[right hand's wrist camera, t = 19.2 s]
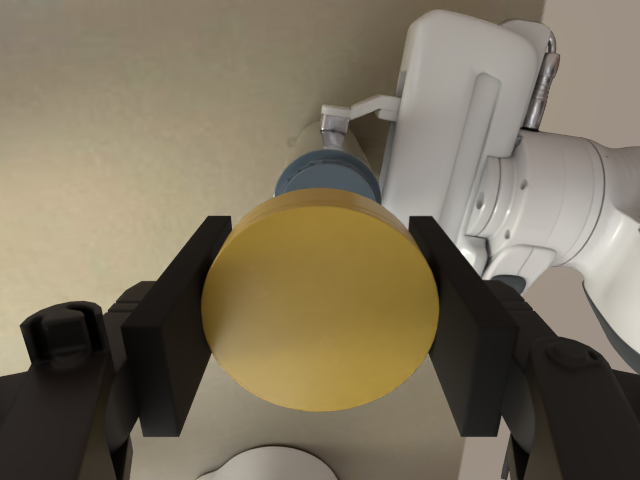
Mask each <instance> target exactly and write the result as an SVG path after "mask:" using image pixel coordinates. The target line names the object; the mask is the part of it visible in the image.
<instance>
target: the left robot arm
mask: <svg viewBox="0 0 640 480" xmlns="http://www.w3.org/2000/svg"><path fill="white" fill-rule="evenodd" d="M547 45H548V53H545V52H546V48H547ZM559 62H560V55H559V54H556V40H555V37H554V35H553V33H552V31H551V30H550V28H549V27H547V26H546V25H544V24H542V23H540V22H535V21H529V20H522V19H509V20H506V21H503V22H501V23H500V24H495V23H492V22H489V21H486V20H483V19H480V18H476V17H473V16H469V15H466V14H462V13H457V12H453V11H448V10H442V9H436V10H431V11H429V12H427V13H425V14H423V15H422V16H420V17H419V18H418V19H417V20H416V21H414V22H413V23H412V24H411V25H410V27H409V29H408V32H407V37H406V42H405V47H404V53H403V58H402V63H401V68H400V73H399V78H398V83H397V88H396V93H395V96H388V95H381V94H377V95H374V96H372V97H370V98H367V99H365V100H363V101H360V102H358V103H355V104H353V105H351V106H350V108H348V107H341V106H334V105H326V104H322V111H321V118H320V126H319V129H321V130H326V131H327V130H329V131H331V130H333V129H334V130H335V131H336V132H340V133H346V134H347V130H348V125H349V120H353V119H355V118H358V117H360V116H363V115H365V114H368V113H370V112H373V111H375V115H376V116H377V117H378V118H379V119H383V120H389V121H390V124H389V129H388V134H387V140H386V145H385V150H384V155H383V160H382V165H381V170H380V175H379V181H378V183H379V186H380V190H381V196H382V206H383V207H385V208H386V209H387V210H389V211H390V212H391V213H392V214H394V215H395V216H396V217H397V218H398V219H399V220H400V221H401V222H402V223H403V224H404V225H405V227H406V228H407V230H408V227H409V216H433V218H434V219H435V220H436V221H437V223H438V224H439V225H440V226H441V228H442V229H443V230H444V232H445V233H446V234H447V235H448V237H449V238H450V239H451V240H452V242H453V243H454V244H455V245H456V247H457V248H458V249H459V250H460V252H461V253H462V254H463V256H464V257H465V258H466V259H467V261H468V262H469V263H470V264H471V266H472V267H473V268H474V269H475V271H476V272H477V273H478V274H479V276H480V277H481V278H482V280H500V281H502V282H504V283H505V284H507V285H509V286H510V287H512V288H514V289H515V290H516V291H517V292H518V293H519V294H520V295H521V296H523V295H524V294H525V292H526V291H527V290H528V289H529V288H530V287H531V285H532V284H533V283H534V282H535V281H536V280H537V279H538V278H539V277H540V276H541V275H542V273H544V272H545V271H546V270H547V268H548V267H557V266H567V267H571V268H574V269H576V270H577V271H579V272H580V273H581V274H582V275H583V277H584V280H583V282H582V285H583V289H584V292H585V294H586V296H587V299H588V301H589V303H590V305H591V307H592V309H593V311H594V313H595V315H596V317H597V318H598V320H599V322H600V324H601V326H602V328H603V330H604V332H605V334H606V336H607V338H608V340H609V341H610V343H611V345H612V346H613V347H614V349H615V350H616V351H617V352H618V354H619V355H620V356H621V357H622V358H623V360H624V361H625V362H626V363H627V364H628V365H629V366H630V367H631V368H632V369H633V370H634V371H636V372H637V373H638V374H639V375H640V147H625V148H618V149H612V148H607V147H604V146H602V145H600V144H599V143H597V142H595V141H592V140H589V139H585V138H581V137H574V136H567V135H561V134H554V133H547V132H541V131H539V130H538V129H539V126H540V122H541V119H542V116H543V113H544V110H545V107H546V103H547V98H548V96H547V95H548V93H549V91H548V90H549V89H550V85H551V83H552V80H553V78H554V77H555V75H556V73H557V70H558V66H559ZM197 480H338V479H337V478H336V476H335V475H334V473H333V472H332V470H331V469H330V468H329V467H328V466H327V465H326V464H325V463H324V462H322V461H321V460H319V459H318V458H316V457H315V456H313V455H311V454H308V453H306V452H303V451H300V450H297V449H293V448H288V447H277V446H271V447H260V448H255V449H251V450H248V451H245V452H243V453H240V454H238V455H237V456H235V457H233V458H232V459H230V460H229V461H228V462H227V463H226V464H225V465H223V466H222V467H221V468H220V469H218V470H217V471H214V472H211V473H208V474H205V475H203V476H201V477H199V478H198V479H197Z"/></svg>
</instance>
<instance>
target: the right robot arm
mask: <svg viewBox="0 0 640 480" xmlns="http://www.w3.org/2000/svg"><path fill="white" fill-rule="evenodd" d="M231 231H232V224H231V216H208V217H207V218H206V219H205V221H204V222H203V223H202V224H201V226H200V227H199V228H198V229H197V231H196V232H195V233H194V234H193V236H192V237H191V238H190V239H189V241H188V242H187V243H186V245H185V246H184V247H183V248H182V250H181V251H180V252H179V253H178V255H177V256H176V257H175V258H174V260H173V261H172V262H171V263H170V265H169V266H168V267H167V269H166V270H165V271H164V272H163V274H162V275H161V276H160V277H159V279H158V280H157V281H141V282H139V283H138V284H136V285H134V286H132V287H131V288H129V289H127V290H126V291H125V292H124V293H123V294H122V295H121V296H120V297H119V298H118V300H117V301H116V303H114V304H113V305H112V306H111V307H110V308H109V310H108V313H105V314H104V315H103V314H102V309H101V307H100V306H99V305H97V304H96V303H93V302H87V301H74V302H67V303H62V304H57V305H53V306H51V307H48V308H45V309H43V310H40V311H38V312H36V313H35V314H33V315H31V316H29V317H28V318H27V319H26V320H25V321H24V322H23V323H22V324H21V325H20V328H21V332H22V335H23V338H24V341H25V344H26V347H27V351H28V354H29V357H30V360H31V363H32V364H31V366H30V368H29V370H28V371H26V372H22V373H17V374H12V375H7V376H2V377H0V480H129V479H130V471H131V463H132V455H133V449H132V442H131V438H130V432H131V430H132V429H133V427H134V425H135V423H136V421H137V419H138V417H139V419H140V423H141V428H142V433H143V437H179V436H180V433H181V431H182V428H183V425H184V423H185V420H186V418H187V415H188V413H189V410H190V407H191V405H192V402H193V400H194V397H195V395H196V392H197V389H198V387H199V384H200V382H201V379H202V377H203V374H204V371H205V369H206V366H207V364H208V361H209V359H210V356H211V353H212V352H211V349H210V347H209V345H208V342H207V340H206V337H205V334H204V330H203V323H202V315H201V296H202V291H203V285H204V282H205V280H206V277H207V274H208V271H209V269H210V267H211V266H212V264H213V262H214V260H215V258H216V256H217V255H218V253H219V251H220V249H221V248H222V246H223V244H224V242H225V241H226V239H227V237H228V235H229V234H230V233H231ZM408 231H409V232H410V234H411V235H412V237H413V238H414V240H415V242H416V244H417V245H418V247H419V249H420V251H421V252H422V254H423V256H424V258H425V259H426V261H427V263H428V265H429V267H430V269H431V271H432V273H433V276H434V279H435V282H436V284H437V289H438V295H439V317H438V326H437V331H436V335H435V338H434V341H433V343H432V345H431V348H430V350H429V352H428V353H429V355H430V358H431V360H432V363H433V366H434V368H435V371H436V373H437V376H438V378H439V381H440V384H441V386H442V389H443V391H444V394H445V396H446V399H447V402H448V404H449V407H450V409H451V412H452V414H453V417H454V420H455V422H456V425H457V427H458V430H459V432H460V435H461V437H497V434H498V430H499V425H500V420H501V415H502V416H503V418H504V420H505V422H506V424H507V426H508V428H509V430H510V431H511V433H510V438H509V442H508V447H507V451H506V456H505V460H504V464H503V469H502V475H501V479H505V480H507V477H508V473H509V471H510V478H511V480H640V375H638V374H633V373H628V372H623V371H618V370H614V369H611V367H610V365H609V363H608V362H607V361H606V360H605V358H604V357H603V356H602V355H601V354H600V353H598V352H597V351H595V350H594V349H592V348H591V347H589V346H587V345H585V344H583V343H580V342H578V341H575V340H572V339H567V338H564V337H558V336H557V335H556V334H555V333H554V332H553V331H552V329H551V328H550V327H549V326H548V325H547V324H546V323H545V322H544V321H543V319H542V318H541V317H540V316H539V315H538V314H537V313H536V312H535V311H533V309H532V307H531V306H530V305H529V304H528V303H527V302H525V300H524V299H523V298H522V296H521V295H520V294H519V293H518V292H517V291H516V290H515V289H514V288H512V287H510V286H509V285H507V284H505V283H504V282H502V281H500V280H482V278H481V277H480V276H479V274H478V273H477V272H476V271H475V269H474V268H473V267H472V266H471V264H470V263H469V262H468V261H467V259H466V258H465V257H464V256H463V254H462V253H461V252H460V250H459V249H458V248H457V247H456V245H455V244H454V243H453V242H452V240H451V239H450V238H449V237H448V235H447V234H446V233H445V232H444V230H443V229H442V228H441V226H440V225H439V224H438V223H437V221H436V220H435V219H434V218H433V216H409V227H408Z"/></svg>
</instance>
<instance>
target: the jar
mask: <svg viewBox="0 0 640 480" xmlns="http://www.w3.org/2000/svg"><path fill="white" fill-rule="evenodd" d="M319 126H320V120H317V121H314V122H312V123H310V124H309V125H307V126H306V127H305V128H304V129H303V130H302V131H301V133H300V134H299V136H298V138H297V140H296V142H295V144H294V147H293V149H292V151H291V153H290V155H289V157H288V160H287V162H286V164H285V166H284V168H283V171H282V173H281V175H280V177H279V179H278V182H277V184H276V187H275V192H274V197H276V196H279V195H281V194H284V193H288V192H291V191H295V190H301V189H308V188H332V189H340V190H345V191H349V192H353V193H356V194H359V195H362V196H364V197H366V198H369V199H371V200H373V201H375V202H376V203H378V204H380V205H382V196H381V190H380V186H379V183H378V181H377V179H376V177H375V175H374V173H373V171H372V169H371V167H370V165H369V163H368V161H367V159H366V157H365V155H364V153H363V151H362V149H361V147H360V145H359V143H358V141H357V139H356V137H355V135H354V133H353V132H352V131H351V130H350V129H349V128H348V130H347V134H346V133H340V132H336V131H335V130H334V129H333V130H331V131H329V130H327V131H326V130H321V129H319Z"/></svg>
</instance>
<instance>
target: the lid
mask: <svg viewBox="0 0 640 480" xmlns="http://www.w3.org/2000/svg"><path fill="white" fill-rule="evenodd" d="M201 315H202V323H203V330H204V334H205V337H206V340H207V342H208V345H209V347H210V349H211V352H212V353H213V355H214V356H215V358H216V360H217V361H218V363H219V364H220V365H221V366H222V368H223V369H224V370H225V371H226V373H227V374H228V375H229V376H230V377H232V378H233V379H234V380H235V381H236V382H237V383H238V384H239V385H241V386H242V387H243V388H245V389H246V390H248V391H249V392H251V393H253V394H254V395H256V396H258V397H260V398H262V399H264V400H266V401H269V402H271V403H273V404H277V405H280V406H283V407H286V408H291V409H296V410H302V411H312V412H328V411H338V410H344V409H349V408H354V407H358V406H361V405H364V404H367V403H370V402H372V401H374V400H376V399H379V398H381V397H383V396H384V395H386V394H388V393H389V392H391V391H393V390H394V389H396V388H397V387H398V386H400V385H401V384H402V383H404V382H405V381H406V380H407V379H408V378H409V377H410V376H411V375H412V374H413V373H414V372H415V371H416V369H417V368H418V367H419V366H420V364H421V363H422V362H423V360H424V359H425V357H426V355H427V354H428V352H429V350H430V348H431V345H432V343H433V341H434V338H435V335H436V331H437V326H438V317H439V295H438V289H437V284H436V282H435V279H434V276H433V273H432V271H431V269H430V267H429V265H428V263H427V261H426V259H425V258H424V256H423V254H422V252H421V251H420V249H419V247H418V245H417V244H416V242H415V240H414V238H413V237H412V235H411V234H410V232H409V231H408V230H407V228H406V227H405V225H404V224H403V223H402V222H401V221H400V220H399V219H398V218H397V217H396V216H395V215H394V214H392V213H391V212H390V211H389V210H387V209H386V208H385V207H383V206H382V205H380V204H378V203H376V202H375V201H373V200H371V199H369V198H366V197H364V196H362V195H359V194H356V193H353V192H349V191H345V190H340V189H332V188H308V189H301V190H295V191H291V192H288V193H284V194H281V195H279V196H276V197H274V198H271V199H269V200H267V201H266V202H264V203H262V204H260V205H259V206H257V207H256V208H254V209H253V210H252V211H250V212H249V213H248V214H247V215H245V216H244V217H243V218H242V219H241V220H240V222H239V223H238V224H237V225H236V226H235V227H234V229H233V230H232V231H231V233H230V234H229V235H228V237H227V239H226V241H225V242H224V244H223V246H222V248H221V249H220V251H219V253H218V255H217V256H216V258H215V260H214V262H213V264H212V266H211V267H210V269H209V271H208V274H207V277H206V280H205V282H204V285H203V291H202V296H201Z"/></svg>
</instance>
